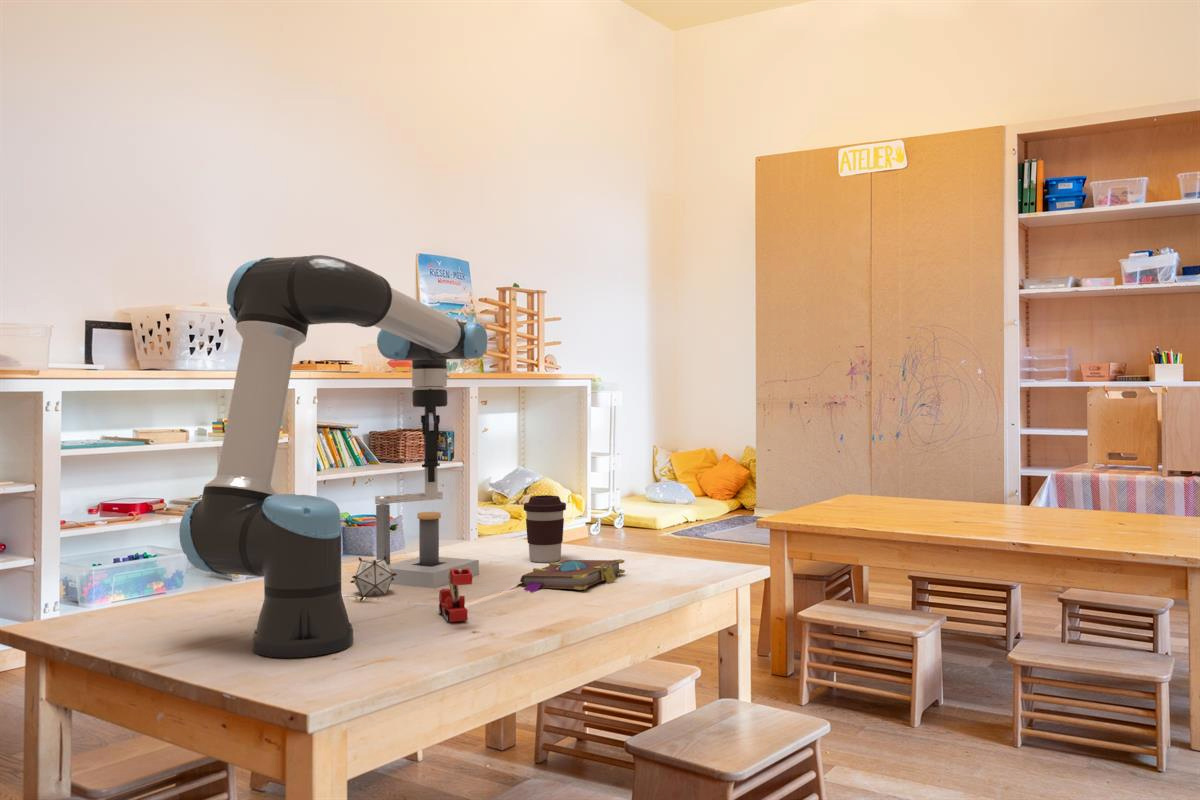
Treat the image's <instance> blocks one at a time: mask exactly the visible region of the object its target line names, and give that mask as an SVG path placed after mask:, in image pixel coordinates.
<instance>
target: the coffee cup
mask: <svg viewBox="0 0 1200 800" xmlns="http://www.w3.org/2000/svg"><path fill="white" fill-rule="evenodd" d="M566 510H567V504H566V502H563V501H561V498H560V496H559V495H551V494H549V495H548V494H547V495H546V494H545V495H544V494H543V495H533V496H530V497H529V500H528V501H527V502H525V503H523V511H525V512H526V518H525V527H526V538H527V540H526V541H527V544H528V551H529V555H528V556H529V560H530V561H531V562H534V563H545V564H547V563H557V562H558V561H559V562H560V560H561V558H562V556H561V555H562V543H563V541H564V526H565V523H564V521H565V519H564V512H565V511H566Z"/></svg>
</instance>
